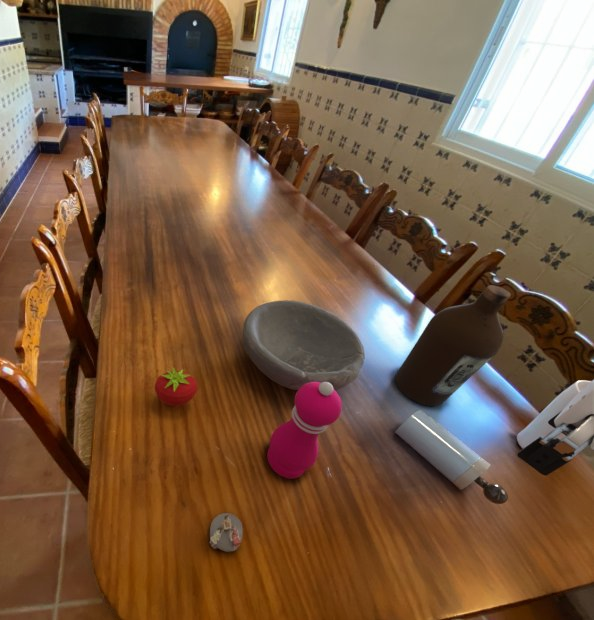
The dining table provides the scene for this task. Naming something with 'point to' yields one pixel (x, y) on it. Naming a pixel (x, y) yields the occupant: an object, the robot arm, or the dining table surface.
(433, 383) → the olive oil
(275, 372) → the bowl
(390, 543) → the dining table surface
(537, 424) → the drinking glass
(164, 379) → the red tomato
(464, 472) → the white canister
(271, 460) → the pepper mill
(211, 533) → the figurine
